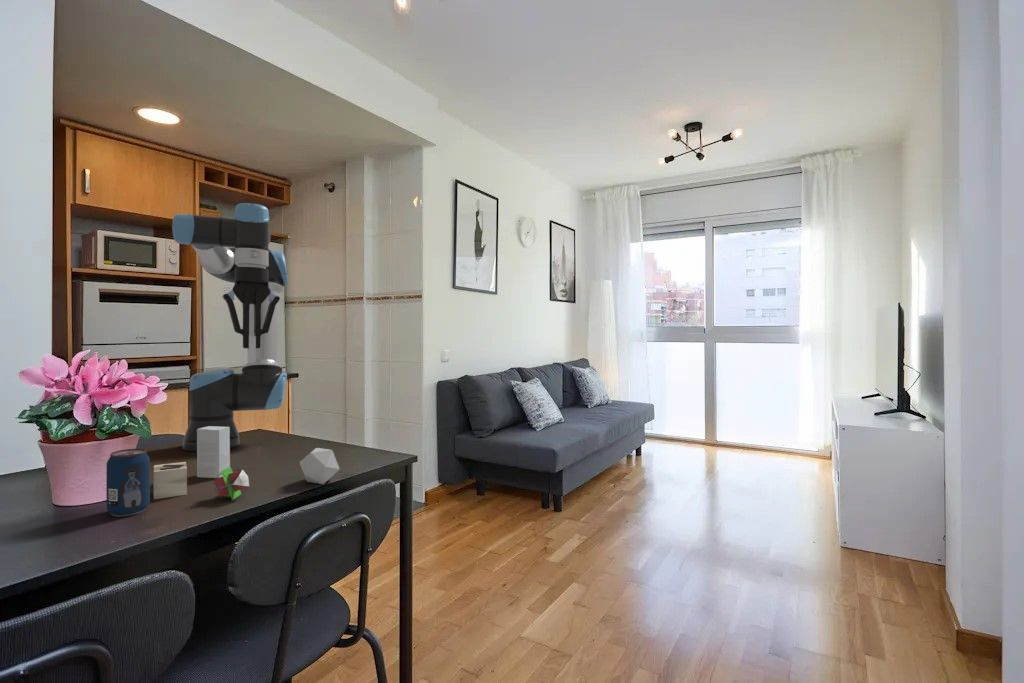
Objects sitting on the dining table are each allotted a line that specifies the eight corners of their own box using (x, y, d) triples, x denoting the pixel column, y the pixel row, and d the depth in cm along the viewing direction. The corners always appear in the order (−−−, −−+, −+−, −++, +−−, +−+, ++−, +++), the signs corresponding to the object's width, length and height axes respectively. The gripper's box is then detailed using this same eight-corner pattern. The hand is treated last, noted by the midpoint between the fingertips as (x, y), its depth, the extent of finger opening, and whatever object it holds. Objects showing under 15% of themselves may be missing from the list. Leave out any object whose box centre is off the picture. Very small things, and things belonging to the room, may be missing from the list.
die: (346, 482, 125) (338, 446, 130) (332, 473, 118) (325, 436, 122) (314, 494, 125) (307, 458, 129) (298, 487, 117) (292, 448, 122)
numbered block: (154, 491, 114) (154, 464, 114) (185, 487, 117) (185, 460, 117) (153, 499, 109) (153, 471, 109) (186, 495, 112) (186, 467, 112)
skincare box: (230, 473, 128) (230, 426, 128) (219, 478, 124) (219, 429, 124) (208, 472, 129) (208, 425, 129) (195, 477, 125) (196, 428, 124)
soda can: (129, 504, 106) (129, 446, 106) (158, 506, 105) (158, 448, 104) (97, 516, 99) (96, 455, 99) (127, 519, 98) (127, 457, 98)
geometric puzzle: (198, 492, 108) (221, 463, 108) (215, 482, 114) (237, 455, 114) (225, 512, 108) (248, 483, 108) (241, 501, 115) (262, 474, 115)
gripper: (223, 263, 120) (223, 363, 121) (283, 268, 128) (282, 362, 128) (220, 266, 127) (220, 361, 127) (277, 270, 134) (277, 360, 135)
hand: (251, 361), depth 128 cm, fingers closed
